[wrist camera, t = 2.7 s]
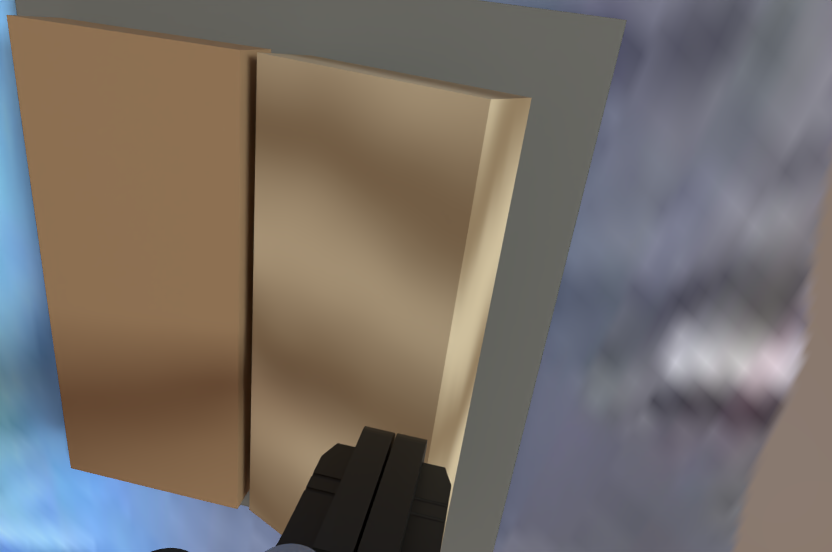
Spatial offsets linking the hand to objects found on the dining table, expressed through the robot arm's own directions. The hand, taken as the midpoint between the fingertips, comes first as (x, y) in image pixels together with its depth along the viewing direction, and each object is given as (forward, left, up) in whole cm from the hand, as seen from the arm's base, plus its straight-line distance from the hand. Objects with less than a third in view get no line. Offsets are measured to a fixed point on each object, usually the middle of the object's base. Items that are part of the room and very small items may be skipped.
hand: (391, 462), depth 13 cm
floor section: (0, -5, -7) cm, 9 cm away
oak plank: (0, -2, -5) cm, 5 cm away
